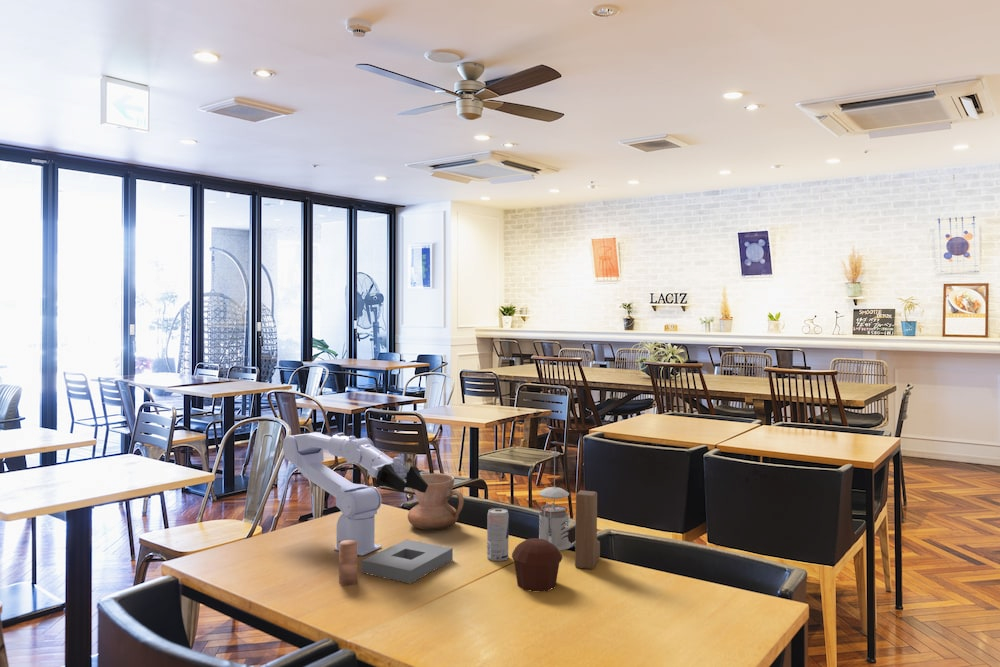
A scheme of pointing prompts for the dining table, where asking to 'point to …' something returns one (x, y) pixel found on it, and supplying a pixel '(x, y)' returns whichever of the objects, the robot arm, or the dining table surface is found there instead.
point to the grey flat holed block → (407, 560)
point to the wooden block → (586, 530)
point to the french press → (554, 517)
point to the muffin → (536, 564)
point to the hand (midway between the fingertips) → (415, 488)
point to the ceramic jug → (435, 503)
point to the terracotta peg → (348, 562)
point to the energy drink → (497, 534)
